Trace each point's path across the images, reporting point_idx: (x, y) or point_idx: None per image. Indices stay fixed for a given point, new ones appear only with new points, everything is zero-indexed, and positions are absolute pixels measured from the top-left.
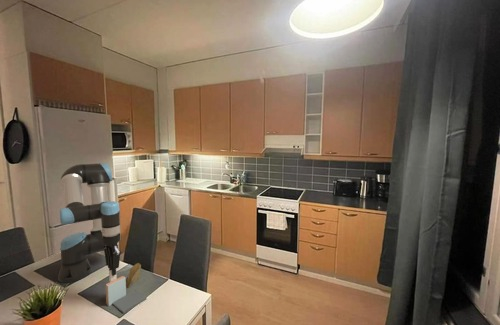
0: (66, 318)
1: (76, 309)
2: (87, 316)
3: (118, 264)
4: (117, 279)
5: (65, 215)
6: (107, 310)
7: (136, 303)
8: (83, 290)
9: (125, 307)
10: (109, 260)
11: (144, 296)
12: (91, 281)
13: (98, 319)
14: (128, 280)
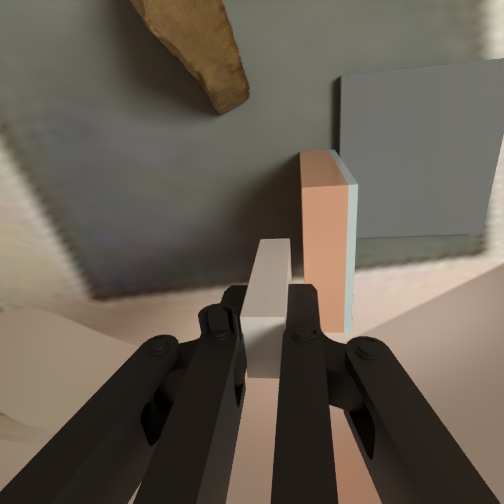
0: None
1: None
2: None
3: (418, 399)
4: (319, 249)
5: None
6: (361, 268)
7: (495, 144)
8: (83, 278)
9: (456, 210)
10: (227, 491)
11: (487, 60)
12: (11, 225)
13: (387, 315)
14: (227, 84)
